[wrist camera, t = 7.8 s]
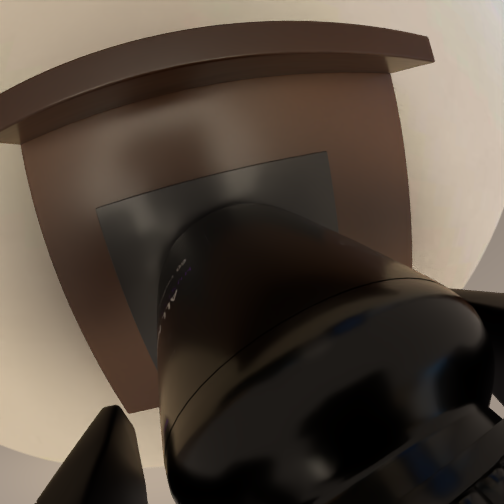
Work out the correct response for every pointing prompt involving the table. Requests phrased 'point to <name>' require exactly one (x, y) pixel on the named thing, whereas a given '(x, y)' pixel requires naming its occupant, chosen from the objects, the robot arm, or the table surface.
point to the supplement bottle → (318, 372)
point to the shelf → (205, 158)
